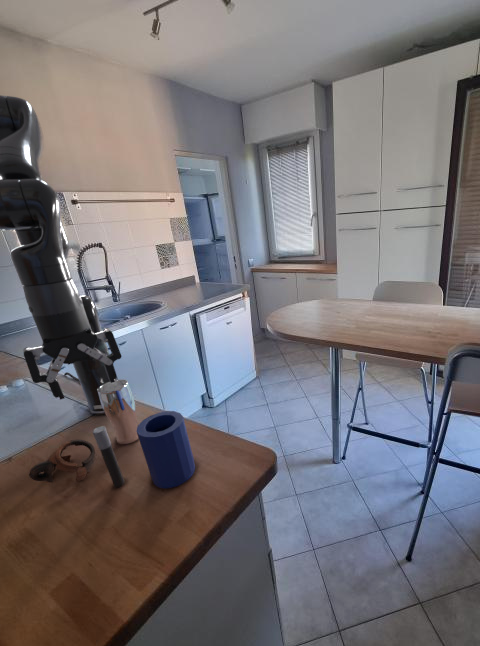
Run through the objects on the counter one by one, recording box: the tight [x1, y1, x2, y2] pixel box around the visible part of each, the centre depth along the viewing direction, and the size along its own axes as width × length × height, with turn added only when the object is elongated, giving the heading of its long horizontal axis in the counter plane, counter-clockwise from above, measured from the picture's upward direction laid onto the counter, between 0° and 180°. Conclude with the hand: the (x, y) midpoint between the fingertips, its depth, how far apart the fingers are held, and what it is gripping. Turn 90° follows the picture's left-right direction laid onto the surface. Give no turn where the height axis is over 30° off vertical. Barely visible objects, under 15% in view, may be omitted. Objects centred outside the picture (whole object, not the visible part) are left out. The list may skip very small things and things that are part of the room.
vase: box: [136, 410, 196, 489], centre depth 70 cm, size 9×9×13 cm
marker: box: [92, 425, 125, 488], centre depth 68 cm, size 2×2×14 cm
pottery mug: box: [28, 439, 97, 483], centre depth 73 cm, size 12×10×8 cm
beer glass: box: [97, 378, 139, 445], centre depth 82 cm, size 7×7×15 cm
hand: (87, 389), depth 64 cm, fingers open, 8 cm apart
